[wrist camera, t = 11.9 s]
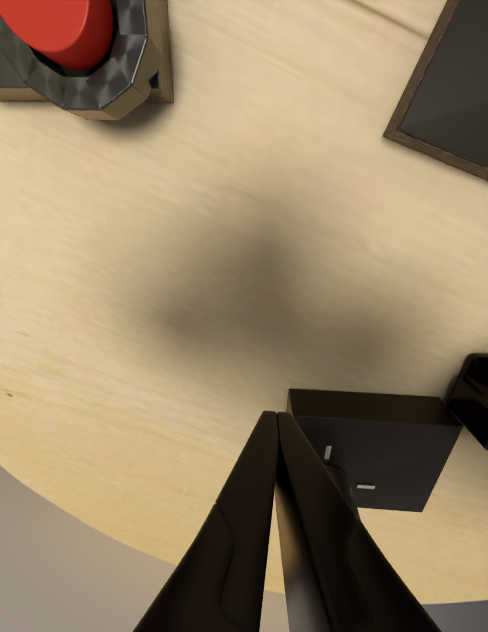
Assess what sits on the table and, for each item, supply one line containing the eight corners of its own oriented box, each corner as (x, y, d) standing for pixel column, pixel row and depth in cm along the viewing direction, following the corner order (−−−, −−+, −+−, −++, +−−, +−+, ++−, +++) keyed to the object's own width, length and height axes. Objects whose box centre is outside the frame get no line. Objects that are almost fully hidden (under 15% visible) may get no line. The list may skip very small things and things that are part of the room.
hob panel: (438, 396, 22) (465, 427, 19) (401, 487, 27) (418, 523, 24) (273, 387, 22) (274, 415, 20) (265, 478, 27) (265, 511, 24)
